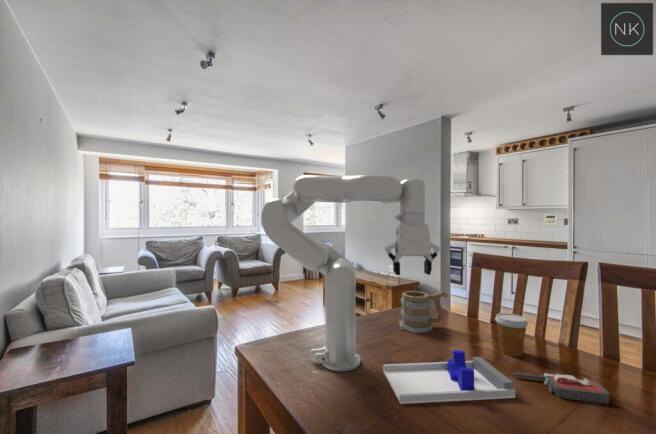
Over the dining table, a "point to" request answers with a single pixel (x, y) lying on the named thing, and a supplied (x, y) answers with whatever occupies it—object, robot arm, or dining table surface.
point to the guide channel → (445, 382)
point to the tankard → (419, 311)
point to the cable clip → (461, 371)
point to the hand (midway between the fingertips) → (412, 274)
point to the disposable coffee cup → (511, 333)
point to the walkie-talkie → (572, 387)
